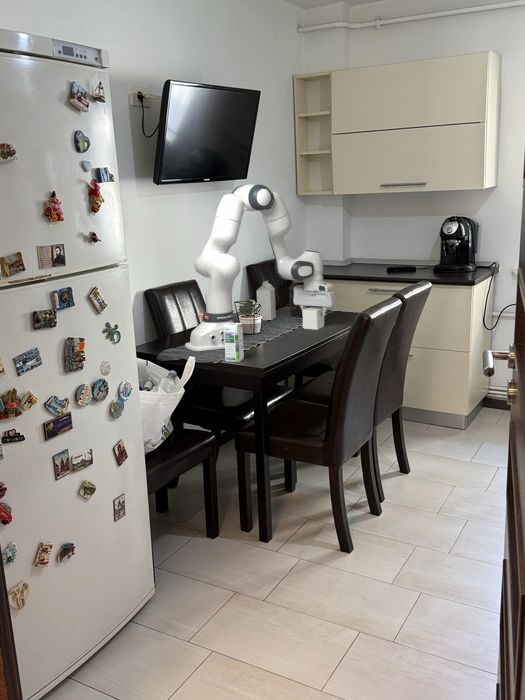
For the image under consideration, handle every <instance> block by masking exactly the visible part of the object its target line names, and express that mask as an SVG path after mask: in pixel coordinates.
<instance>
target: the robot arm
mask: <svg viewBox="0 0 525 700" xmlns="http://www.w3.org/2000/svg"><path fill="white" fill-rule="evenodd" d="M282 198H283V197H282V196H281V195H280V194H279V193H278V192H276V191H271V189H270V188H269V187H268V186H266V185H263V184H261V183H260V184H253V183H249V184H241V185H239V186H237V187H235V188H234V189H233V191H232V192H231V193H227V194H224V195H223V196H222V197H221V199H220V202H219V204H218V207H217V209H216V211H215V216H214V220H213V225H212V227H211V231H210V235H209V237H208V240H207V241H206V243H205V245H204V246H203V249H202V251H200V253H198V255H196V257H195V259H194V262H193V267H194V270H195V272H196V273H197V274H199V275H200V276H202V277H204V278H209V279H210V282H209V288H208V290H207V291H206V292H205V294H204V296H205V310H206V311H205V312H204V313H202V312H199V313H198V314H197V315H198V317H199V318H201V319H202V322H200V323H199V324H198V325H197V326H196V327H195V328H194V329H192V331H191V333H190V337H189V338H190V339H189V340H190V341H189V342H185V344H184V345H185V348H186V349H187V350H190V351H193V352H202V351H203V352H204V351H211V350H212V351H213V350H220V349H221V350H222V349H225V341H224V325H225V324H227V323H235V315H234V310H233V297H232V296H233V294H232V293H233V288H234V284H235V280H236V278H237V277H238V276H239V274H240V272H241V263H240V260H239V259H238V258H237V257H235V256H234V255H232V254H229V251H230V249H231V247H233V246H234V245H235V244H236V242H237V240H238V236H239V233H240V227H241V224H242V219H243V216H244V213H245V212H246V211H247V212H257V211H258V212H260V214H261V215H262V219H263V220H264V225H265V226H266V230H267V235H268V239H269V243H270V247H271V249H272V253H273V256H274V262H275V263H274V264H275V266H274V267H275V273H276V275H277V277H278V278H280V279H281V280H288V281H289V280H290V281H296V282H304V285H296V286H295V287H294V298H293V303H294V304H295V305H301V309H302V310H303V309H305V308H304V307H305V305H306V306H321V307H323V309H324V311H323V312H321V316H324V317H326V314H327V313H326V312H327V311H328V309H329V308H332V307H334V306H336V296H335V291H334V290H333V289H334V285H333V284H331V283H329V282H326V281H324V276H323V271H324V263H323V262H324V261H323V255H322V253H321V252H320V251H317V250H311V249H310V250H305V251H304V252H303V253H302V254H301V255H300V256H298V257H296V258H292V257H291V256H290V255H289V253H288V251H287V246H286V243H285V236H287V234H288V233H289V232H290V230H291V228H292V220H291V216H290V213H289V211H288V208H287V206H286V204H285V201H284V200H283V199H282Z"/></svg>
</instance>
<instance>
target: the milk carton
mask: <svg viewBox="0 0 525 700" xmlns="http://www.w3.org/2000/svg"><path fill="white" fill-rule="evenodd" d="M257 303H258V304H260V305H261V308H260V311H259V312H257V315H258V314H260V315H262V320H261V321H267V320H271V321H273V320H275V319H276V318H277V315H276V314H277V313H276V311H277V310H276V309H277V308H276V289H275V287H274V286H273V285H272V284H271V283H269V280H266V281H263V282H262V285H261V286H260V287H259V288H258V289H257V290H256V304H257ZM274 318H275V319H274Z"/></svg>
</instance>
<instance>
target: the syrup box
mask: <svg viewBox="0 0 525 700" xmlns="http://www.w3.org/2000/svg"><path fill="white" fill-rule="evenodd" d="M243 333H244V331H243V322H234V323H227V324H225V325H224V341H225V348H224V353H225V355H224V356H225V358H224V359H225V362H233V363H240V362H241V361H242V360H244V359H245V357H244V334H243Z"/></svg>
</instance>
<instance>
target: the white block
mask: <svg viewBox="0 0 525 700" xmlns="http://www.w3.org/2000/svg"><path fill="white" fill-rule="evenodd" d="M323 311H324V309H323V308H318V307H308V308H306V309H303V310H302V314H303V318H302V329H303V328H304V330H317V331H318V330H319V329H321V328H324V327H325V316H321V312H323Z"/></svg>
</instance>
